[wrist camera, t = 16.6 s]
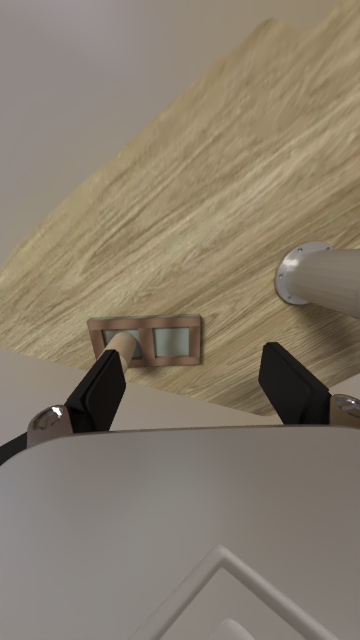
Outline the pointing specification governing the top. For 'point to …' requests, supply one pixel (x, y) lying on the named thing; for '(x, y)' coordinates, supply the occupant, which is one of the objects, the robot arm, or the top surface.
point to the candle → (123, 347)
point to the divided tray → (152, 338)
